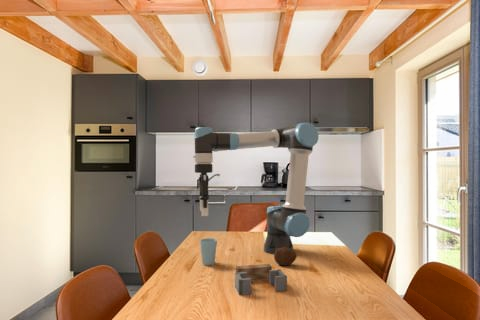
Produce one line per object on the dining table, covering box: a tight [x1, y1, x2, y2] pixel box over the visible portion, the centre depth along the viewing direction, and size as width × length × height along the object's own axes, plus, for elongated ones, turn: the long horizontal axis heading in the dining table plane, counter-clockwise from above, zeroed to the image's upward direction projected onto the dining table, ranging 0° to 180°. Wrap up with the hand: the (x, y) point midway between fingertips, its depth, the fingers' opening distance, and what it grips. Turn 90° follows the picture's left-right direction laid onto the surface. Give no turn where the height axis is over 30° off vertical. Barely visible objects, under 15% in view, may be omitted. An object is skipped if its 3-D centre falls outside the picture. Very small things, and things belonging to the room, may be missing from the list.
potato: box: [273, 247, 298, 266], centre depth 138 cm, size 7×10×8 cm
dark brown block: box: [235, 263, 273, 282], centre depth 121 cm, size 14×4×5 cm, turn 102°
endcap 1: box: [234, 272, 252, 296], centre depth 110 cm, size 4×7×5 cm, turn 12°
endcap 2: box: [268, 269, 288, 292], centre depth 113 cm, size 4×7×5 cm, turn 12°
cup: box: [199, 237, 218, 266], centre depth 141 cm, size 8×8×10 cm
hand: (203, 213), depth 133 cm, fingers open, 13 cm apart
